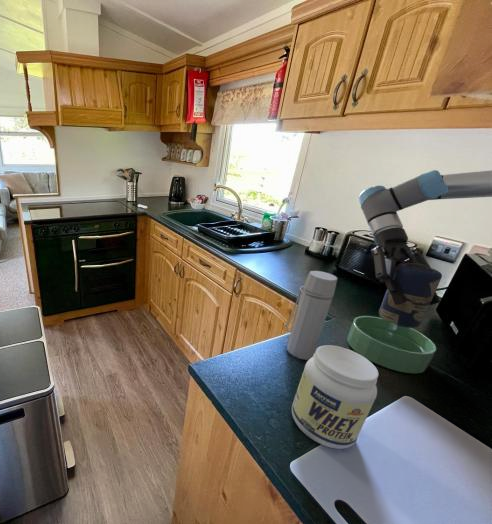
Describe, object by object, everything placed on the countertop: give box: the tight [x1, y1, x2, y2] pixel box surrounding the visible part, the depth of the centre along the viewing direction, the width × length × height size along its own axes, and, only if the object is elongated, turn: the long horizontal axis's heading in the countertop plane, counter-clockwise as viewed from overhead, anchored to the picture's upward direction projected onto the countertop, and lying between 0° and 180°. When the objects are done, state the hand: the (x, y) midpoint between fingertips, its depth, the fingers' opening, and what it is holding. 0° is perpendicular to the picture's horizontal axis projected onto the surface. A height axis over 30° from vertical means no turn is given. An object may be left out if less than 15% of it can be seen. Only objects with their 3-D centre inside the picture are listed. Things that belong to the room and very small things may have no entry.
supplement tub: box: [291, 344, 379, 450], centre depth 59 cm, size 12×12×17 cm
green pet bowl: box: [346, 315, 437, 375], centre depth 87 cm, size 19×19×7 cm
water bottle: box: [285, 270, 338, 361], centre depth 81 cm, size 9×8×25 cm
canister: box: [378, 263, 443, 329], centre depth 81 cm, size 10×10×18 cm
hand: (417, 303), depth 79 cm, fingers closed on canister, 10 cm apart
